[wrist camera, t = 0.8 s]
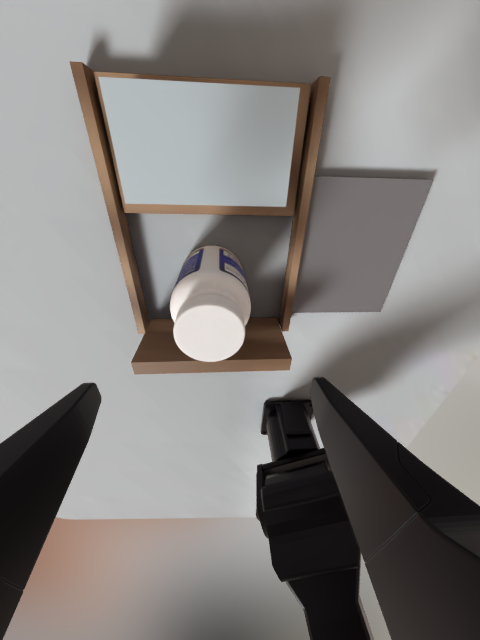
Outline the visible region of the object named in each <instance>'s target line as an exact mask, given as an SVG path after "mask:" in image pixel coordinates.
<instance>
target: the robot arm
mask: <svg viewBox="0 0 480 640" xmlns="http://www.w3.org/2000/svg"><path fill="white" fill-rule="evenodd" d="M310 397H311V400H299V401H272V402H265V403H264V407H263V415H262V423H261V434H263V435H268V439H269V445H270V451H271V457H272V462H270V463H267V464H263V465H262V464H260V465H257V509H256V517H257V519H258V520H259V521H260V523H261V526H262V529H263V532H264V534H265V536H266V537H267V538H268V539H269V544H270V552H271V559H272V565H273V568H274V570H275V572H276V574H277V575H278V578H279V579H280V581H281V582H286V583H287V585H288V586H289V588H290V590H291V591H292V593H293V594H294V596H295V597H296V599H297V601H298V602H299V604H300V605H301V607H302V608H303V610H304V613H305V617H306V622H307V626H308V631H309V636H310V640H374V638H373V635H372V633H371V629H370V626H369V623H368V620H367V617H366V614H365V611H364V608H363V605H362V602H361V599H360V595H359V585H360V566H361V553H362V556H363V559H364V561H365V562H366V563H365V565H366V568H367V571H368V574H369V576H370V579H371V582H372V585H373V588H374V591H375V593H376V597H377V599H378V602H379V605H380V607H381V611H382V613H383V616H384V619H385V622H386V625H387V628H388V631H389V634H390V636H391V639H392V640H480V506H479V505H478V504H476V503H475V502H473V501H472V500H471V499H470V498H468V497H467V496H466V495H464V494H463V493H462V492H460V491H459V490H458V489H456V488H455V487H454V486H453V485H451V484H450V483H449V482H447V481H446V480H445V479H443V478H442V477H441V476H439V475H438V474H437V473H436V472H434V471H433V470H432V469H430V468H429V467H428V466H427V465H425V464H424V463H423V462H422V461H420V460H419V459H418V458H417V457H416V456H414V455H413V454H412V453H411V452H410V451H408V450H407V449H406V448H405V447H404V446H403V445H402V444H400V443H399V442H397V440H396V439H394V438H393V437H392V436H391V435H390V434H389V433H388V432H386V431H385V430H384V429H383V428H382V427H381V426H379V425H378V424H377V423H376V422H375V421H374V420H373V419H371V418H370V417H369V416H368V415H367V414H366V413H364V412H363V411H362V410H361V409H360V408H359V407H358V406H356V405H355V404H354V403H353V402H352V401H351V400H349V399H348V398H347V397H346V396H345V395H344V394H343V393H341V392H340V391H339V390H338V389H337V388H336V387H334V386H333V385H332V384H331V383H330V382H329V381H327V380H326V379H325V378H323V377H315V378H314V379H313V381H312V385H311V388H310ZM100 403H101V395H100V392H99V390H98V388H97V385H96V384H95V383H83V384H81V385H80V386H79V387H77V388H76V389H74V390H73V391H72V392H70V393H69V394H68V395H66V396H65V397H64V398H62V399H61V400H59V401H58V402H57V403H55V404H54V405H53V406H51V407H50V408H48V409H47V410H46V411H44V412H43V413H42V414H40V415H39V416H38V417H36V418H35V419H33V420H32V421H31V422H29V423H28V424H27V425H25V426H24V427H22V428H21V429H20V430H18V431H17V432H16V433H14V434H13V435H12V436H10V437H9V438H7V439H6V440H5V441H3V442H2V443H1V444H0V640H3V637H4V635H5V632H6V630H7V628H8V626H9V623H10V621H11V619H12V617H13V614H14V612H15V610H16V607H17V605H18V602H19V600H20V598H21V596H22V594H23V590H24V588H25V586H26V583H27V581H28V579H29V577H30V575H31V572H32V570H33V568H34V565H35V563H36V561H37V558H38V556H39V554H40V551H41V549H42V547H43V544H44V542H45V540H46V538H47V535H48V533H49V531H50V528H51V526H52V524H53V522H54V519H55V517H56V515H57V512H58V510H59V508H60V505H61V503H62V501H63V498H64V496H65V494H66V492H67V489H68V487H69V485H70V482H71V480H72V478H73V475H74V473H75V471H76V469H77V466H78V464H79V462H80V459H81V457H82V455H83V452H84V450H85V448H86V445H87V443H88V441H89V438H90V435H91V432H92V429H93V426H94V422H95V419H96V416H97V413H98V410H99V407H100ZM313 410H314V414H315V419H316V423H317V427H318V431H319V434H320V437H321V440H322V442H323V445H324V448H322V449H320V447H319V444H318V441H317V438H316V435H315V433H314V430H313V427H312V424H311V421H310V420H311V416H312V413H313Z"/></svg>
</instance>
